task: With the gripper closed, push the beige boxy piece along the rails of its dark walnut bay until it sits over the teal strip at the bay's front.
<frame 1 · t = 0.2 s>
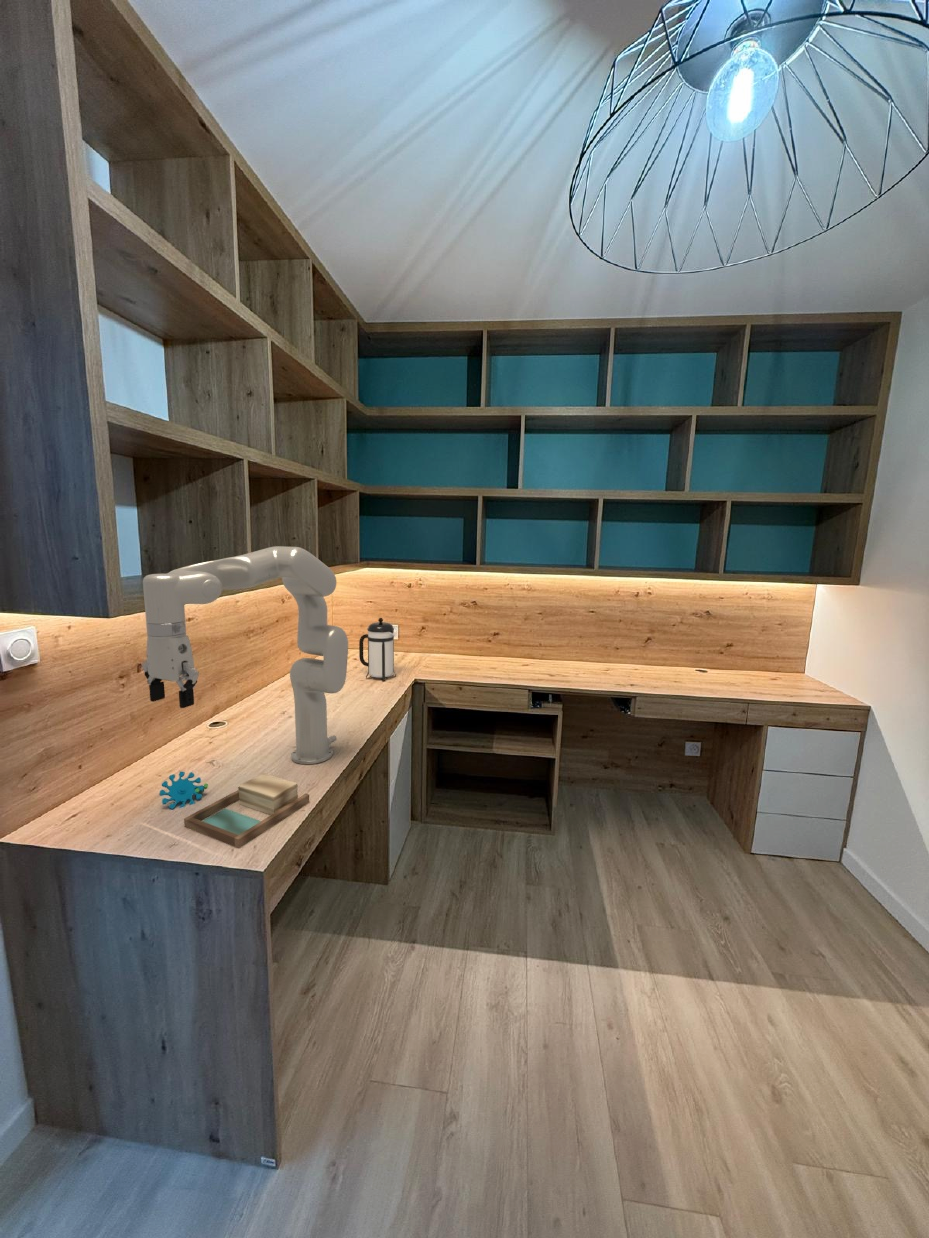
hand: (172, 703, 115), 31 cm above the table, fingers open, 9 cm apart
gear: (185, 804, 131), on the table
coffee press: (378, 677, 249), on the table
bay: (250, 817, 125), on the table
beige boxy piece: (268, 793, 130), point 3 cm above the table, slide at 0.0 cm
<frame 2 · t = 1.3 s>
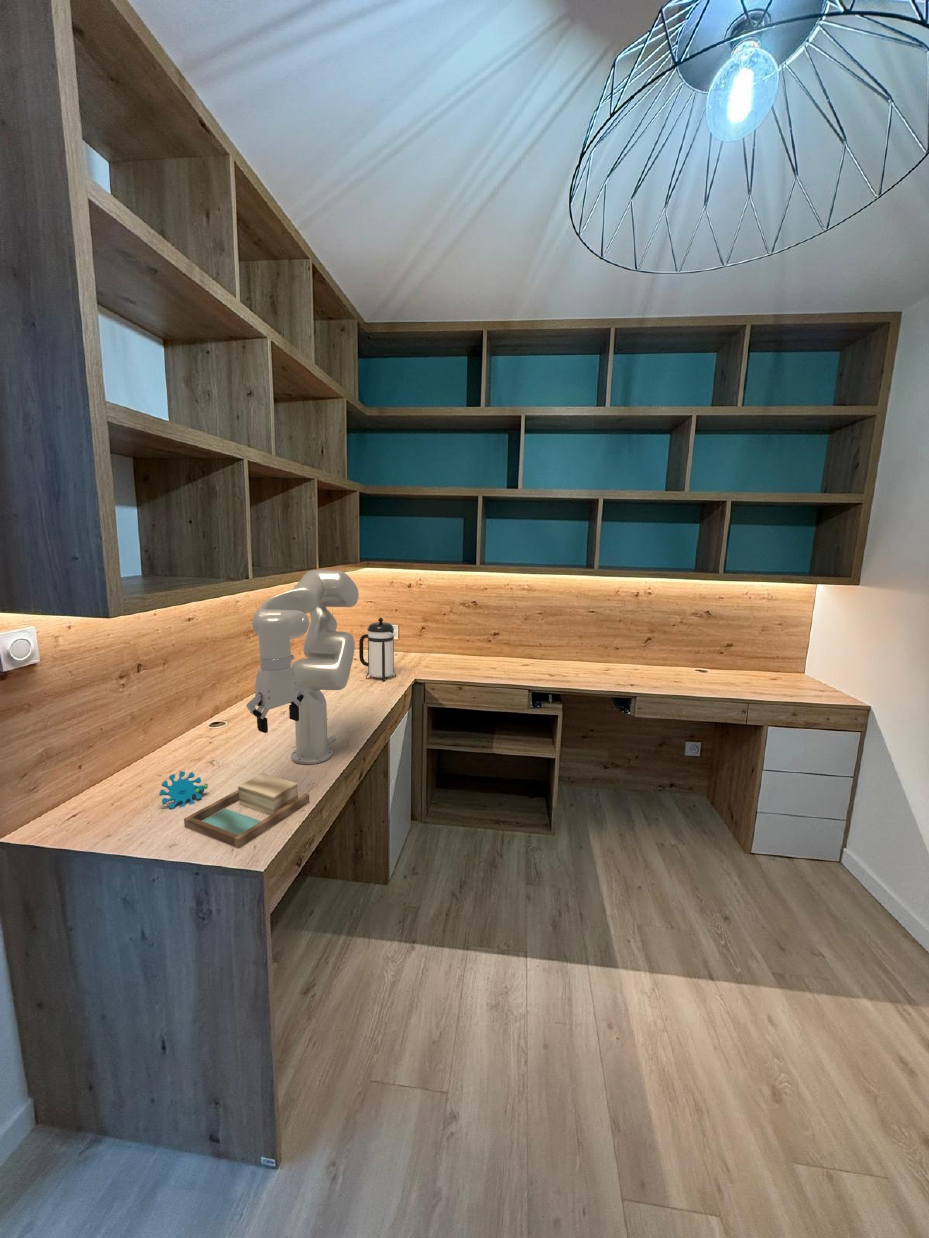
hand: (279, 725, 133), 19 cm above the table, fingers open, 9 cm apart
nothing on the table moved.
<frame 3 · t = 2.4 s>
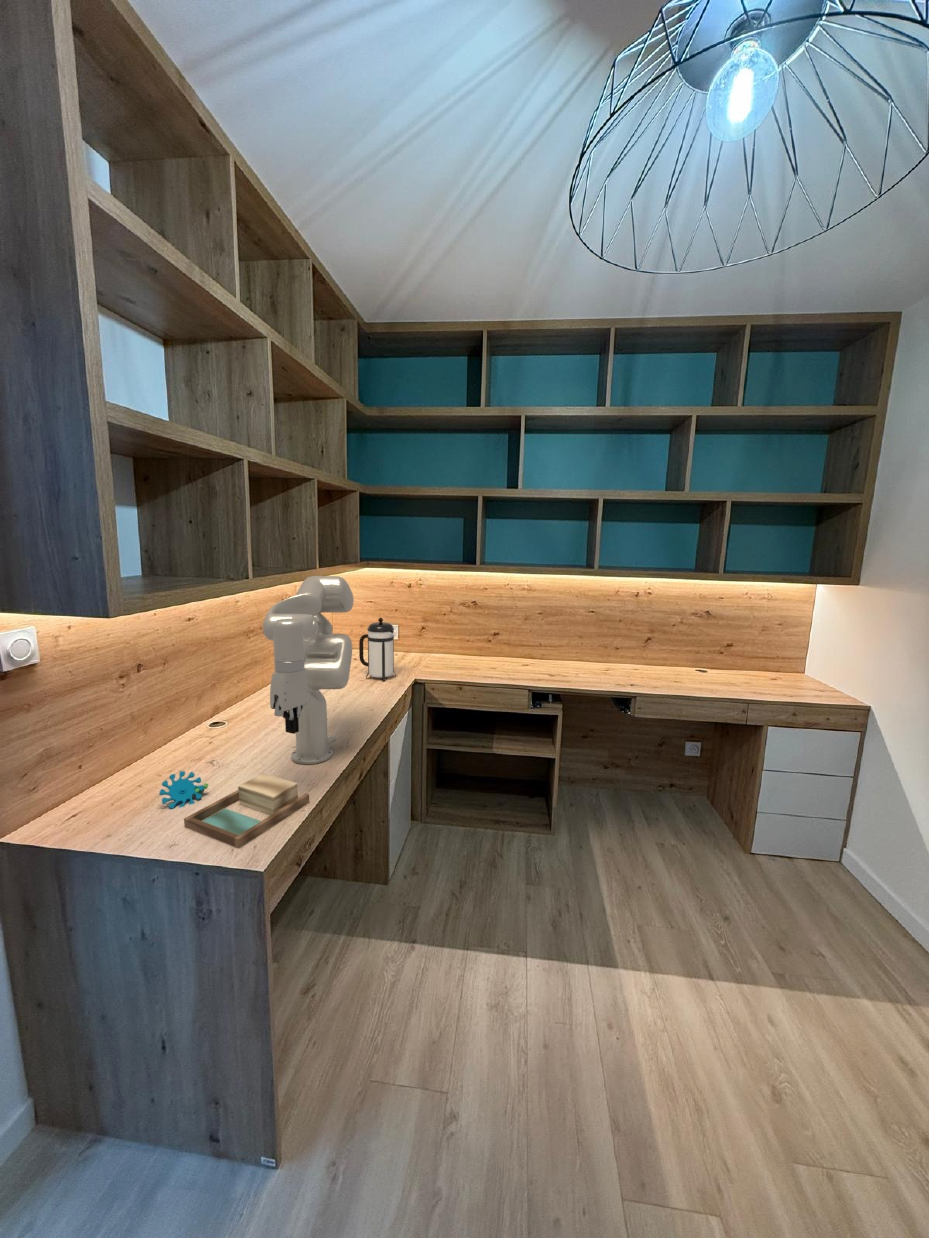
hand: (292, 731, 135), 17 cm above the table, fingers closed
nothing on the table moved.
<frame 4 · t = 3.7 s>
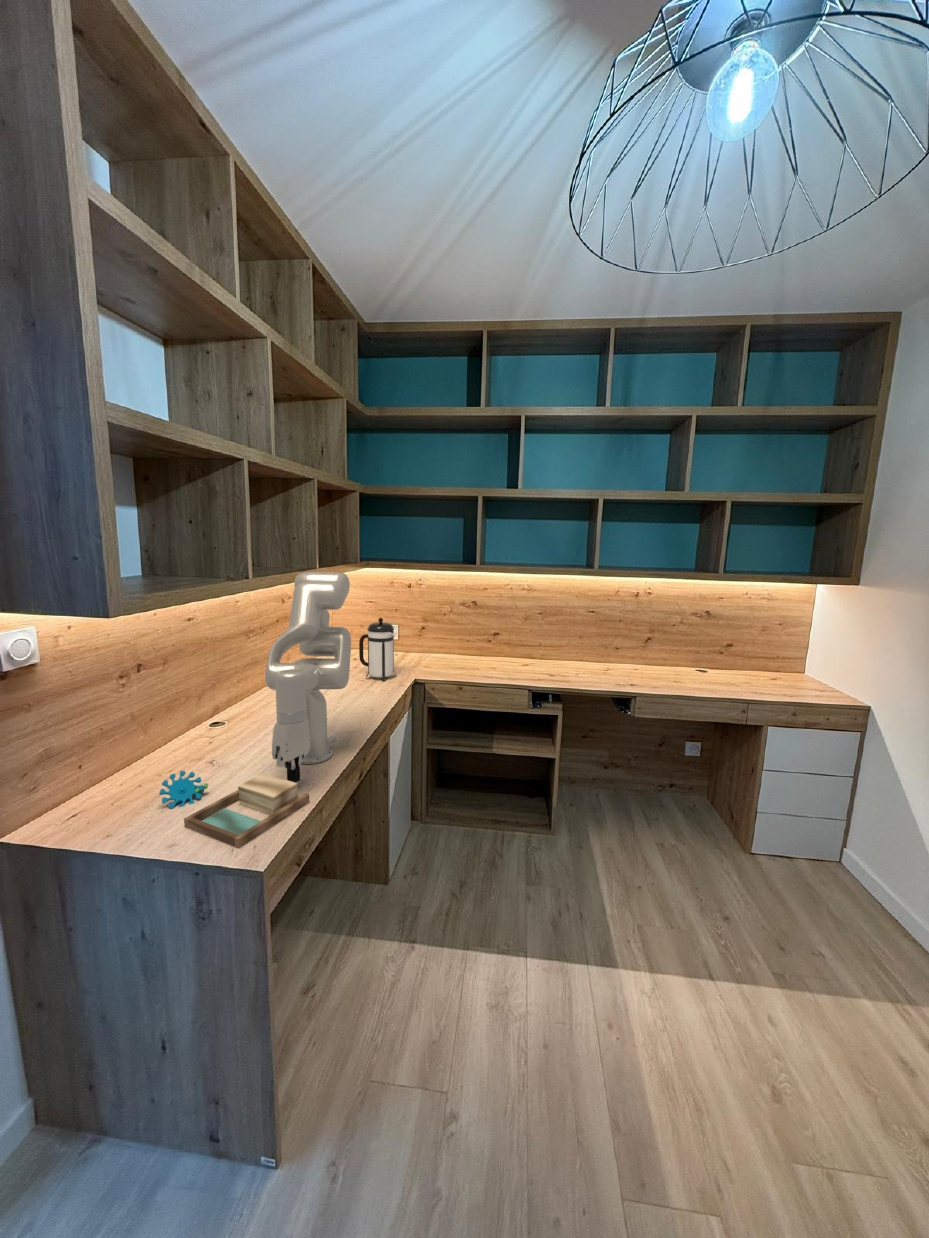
hand: (293, 780, 137), 3 cm above the table, fingers closed
nothing on the table moved.
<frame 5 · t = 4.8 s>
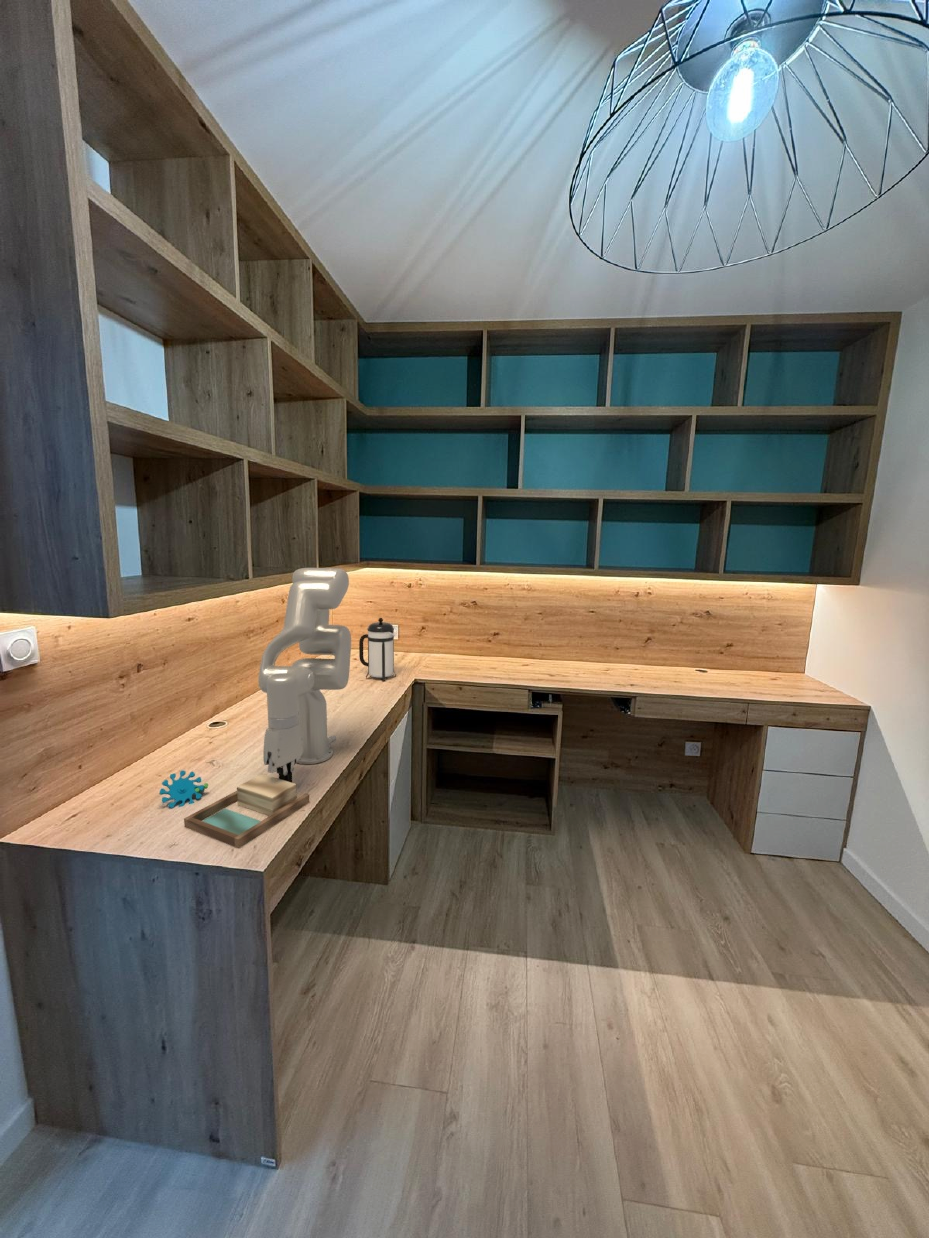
hand: (285, 786, 135), 3 cm above the table, fingers closed
beige boxy piece: (267, 794, 129), point 3 cm above the table, slide at 0.4 cm, touching gripper
everything else where it was.
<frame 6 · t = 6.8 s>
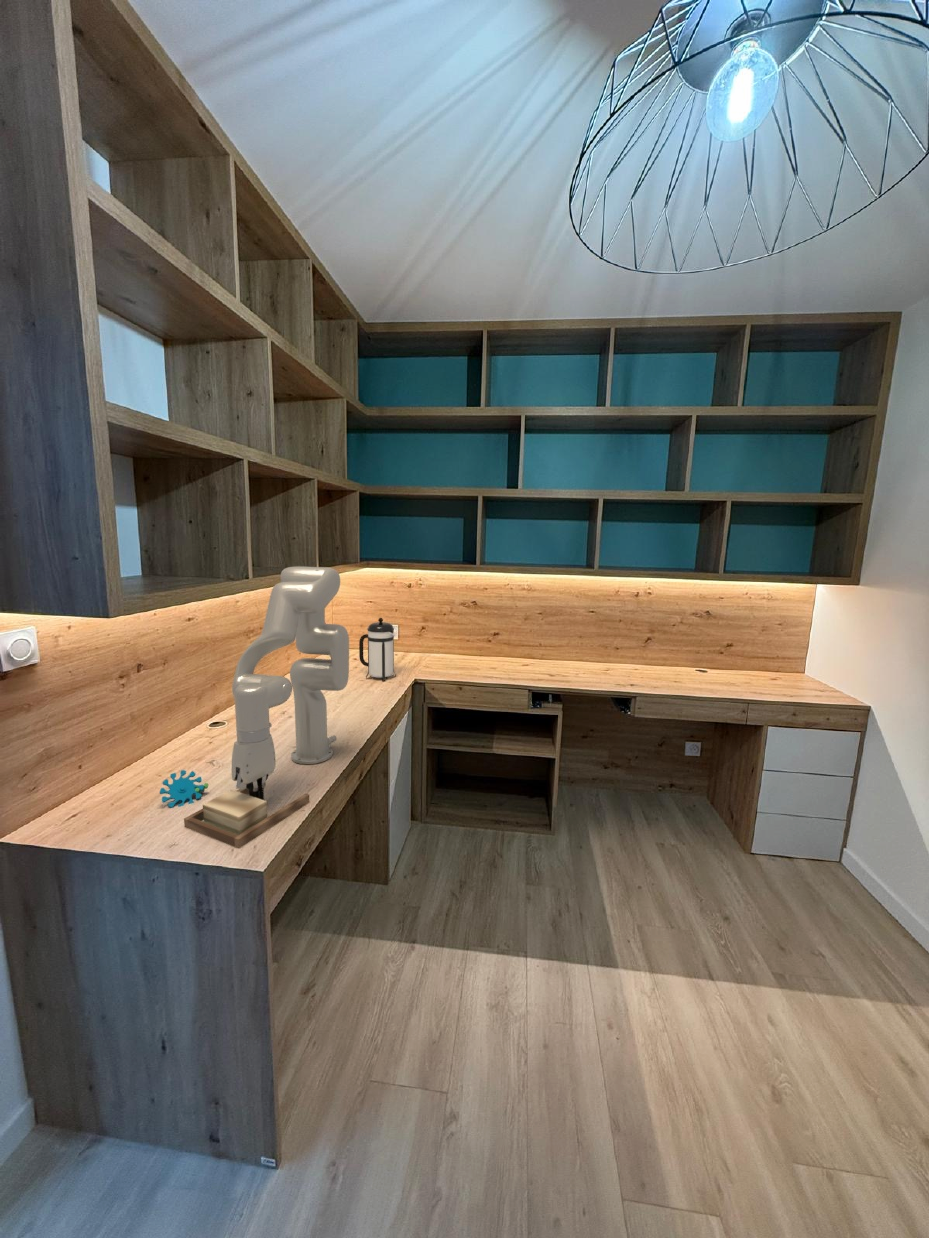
hand: (256, 802, 126), 3 cm above the table, fingers closed
beige boxy piece: (235, 812, 121), point 3 cm above the table, slide at 10.1 cm, touching gripper
everything else where it was.
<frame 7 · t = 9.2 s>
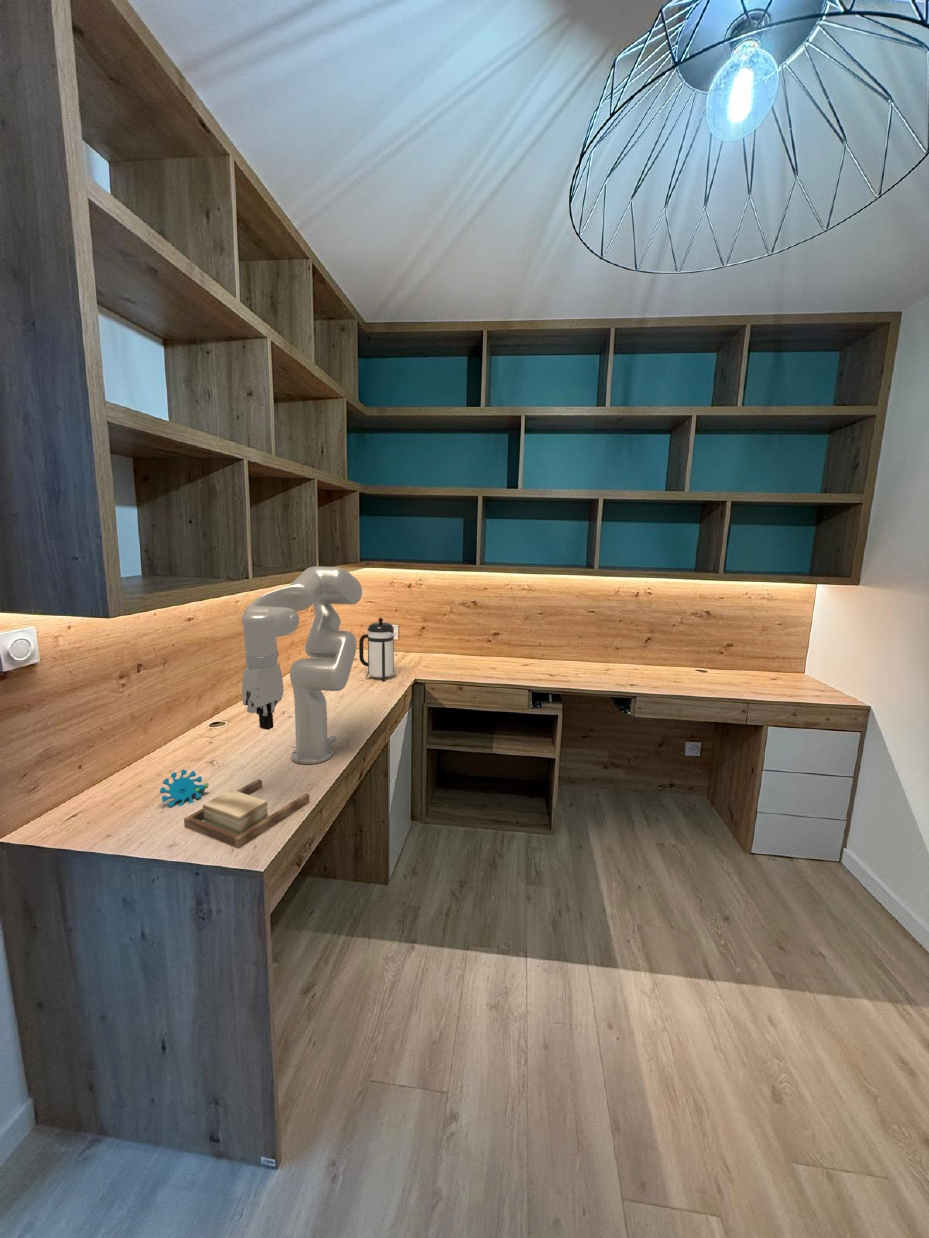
hand: (266, 727, 132), 19 cm above the table, fingers closed
beige boxy piece: (235, 812, 121), point 3 cm above the table, slide at 10.0 cm
everything else where it was.
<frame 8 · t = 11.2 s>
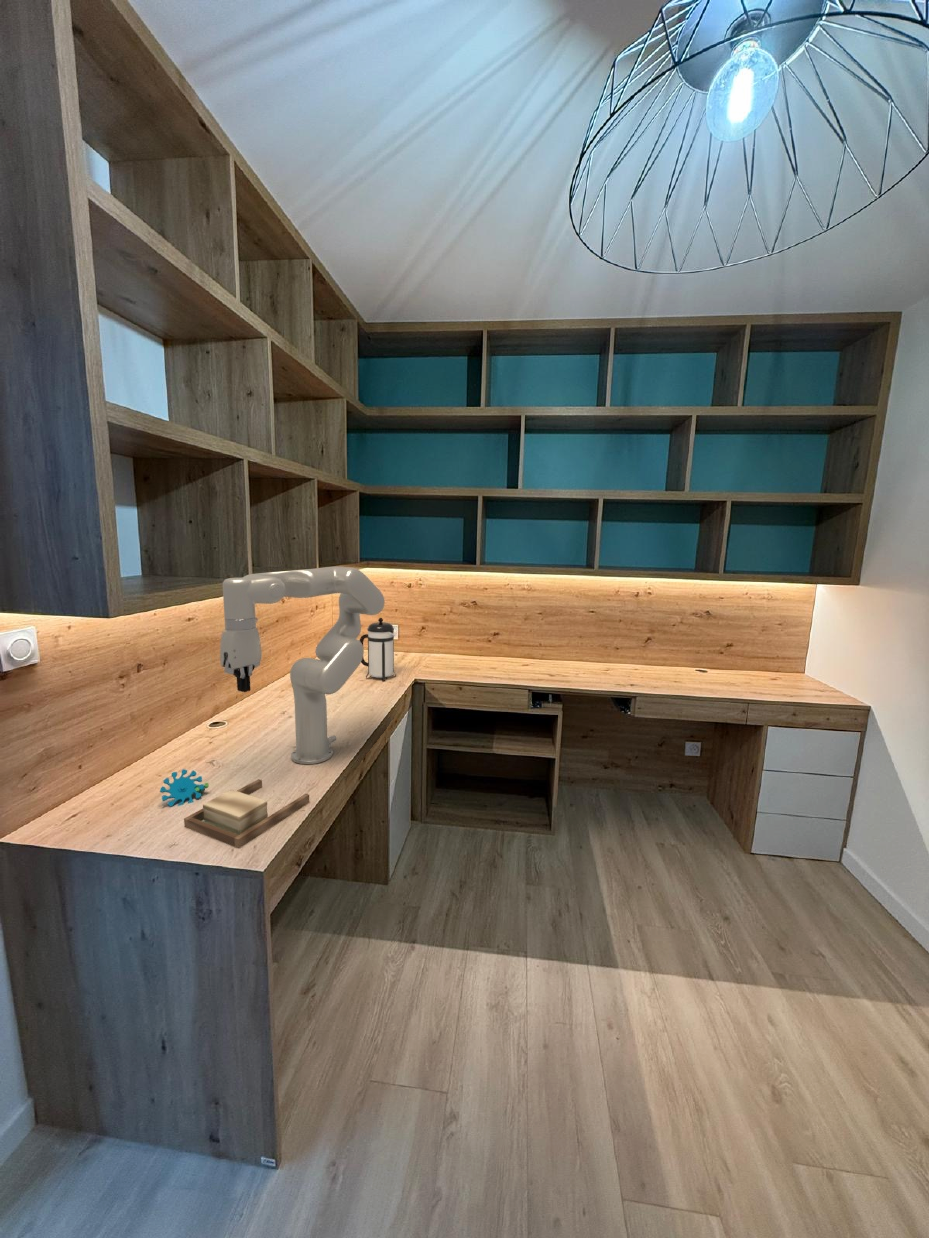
hand: (244, 690, 137), 27 cm above the table, fingers closed
at the end: beige boxy piece slide at 10.0 cm; beige boxy piece 0.5 cm from the target spot, point 3.4 cm above the table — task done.
